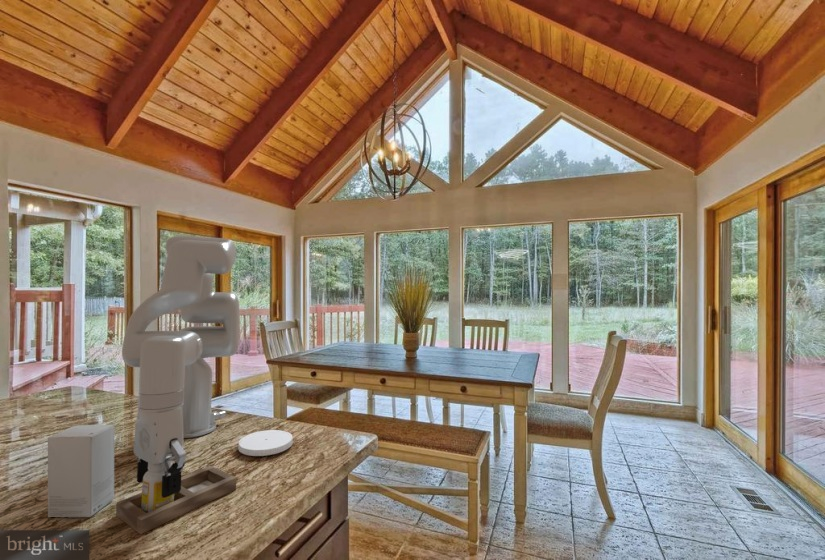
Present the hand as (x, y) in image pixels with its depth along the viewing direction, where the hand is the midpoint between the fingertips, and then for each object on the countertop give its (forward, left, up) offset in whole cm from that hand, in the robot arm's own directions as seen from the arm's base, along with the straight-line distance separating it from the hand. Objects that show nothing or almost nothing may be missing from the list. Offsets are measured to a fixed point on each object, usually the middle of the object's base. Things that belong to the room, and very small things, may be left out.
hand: (158, 486), depth 75 cm
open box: (-4, 0, -5) cm, 6 cm away
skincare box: (+8, -13, -5) cm, 16 cm away
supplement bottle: (0, 0, -5) cm, 5 cm away
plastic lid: (-31, -8, -5) cm, 33 cm away
